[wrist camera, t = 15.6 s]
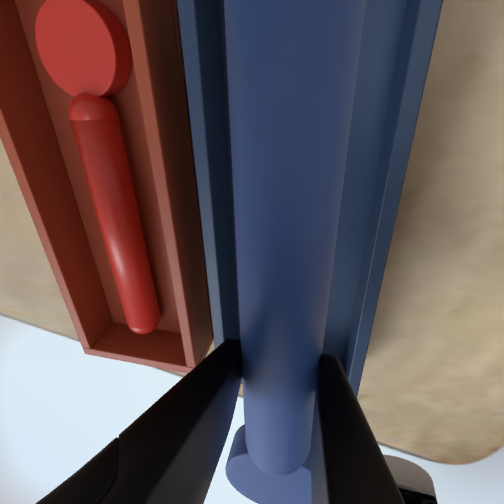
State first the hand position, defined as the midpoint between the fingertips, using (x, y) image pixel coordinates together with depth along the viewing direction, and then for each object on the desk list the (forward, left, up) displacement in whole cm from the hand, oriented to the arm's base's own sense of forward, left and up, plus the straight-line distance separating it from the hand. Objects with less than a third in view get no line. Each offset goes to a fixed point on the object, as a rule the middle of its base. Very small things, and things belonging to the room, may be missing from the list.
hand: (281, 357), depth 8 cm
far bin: (+1, +10, -9) cm, 13 cm away
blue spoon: (+1, 0, -1) cm, 1 cm away
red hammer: (+1, +10, -8) cm, 13 cm away
